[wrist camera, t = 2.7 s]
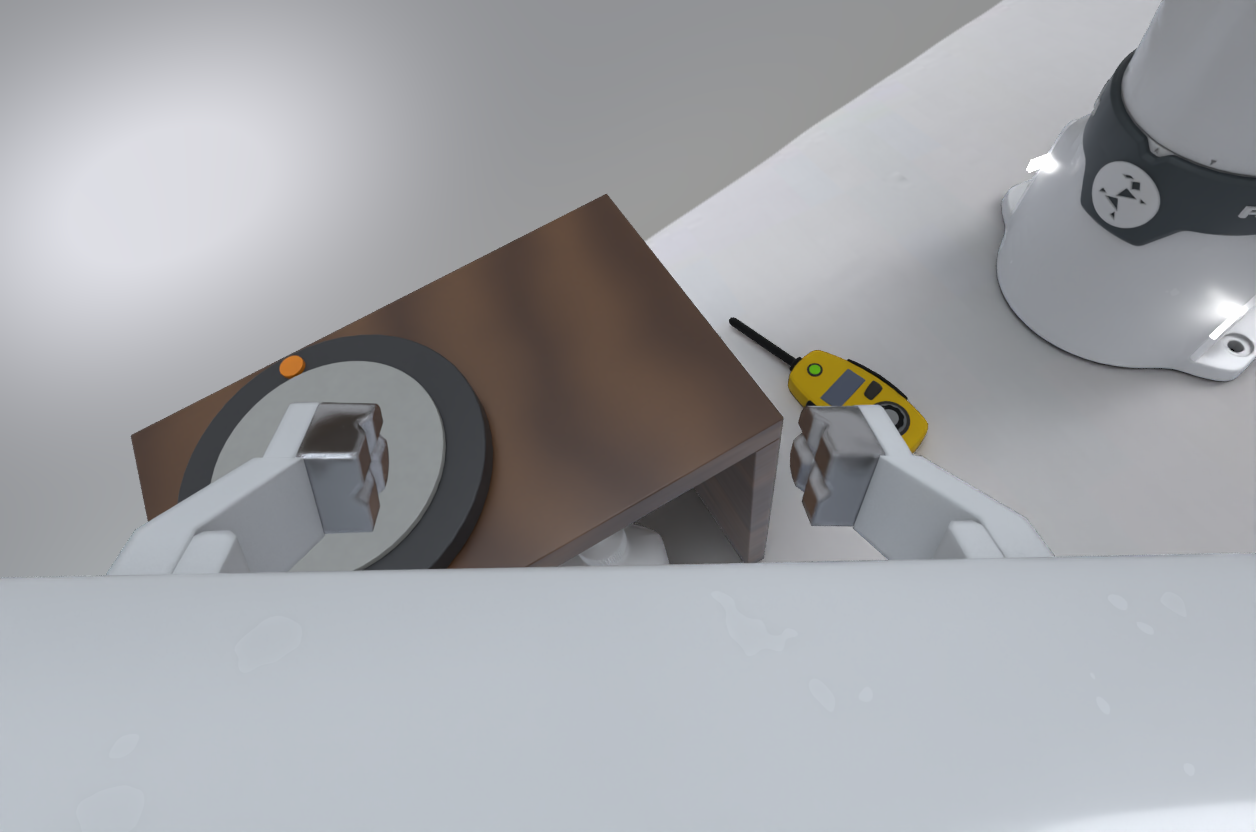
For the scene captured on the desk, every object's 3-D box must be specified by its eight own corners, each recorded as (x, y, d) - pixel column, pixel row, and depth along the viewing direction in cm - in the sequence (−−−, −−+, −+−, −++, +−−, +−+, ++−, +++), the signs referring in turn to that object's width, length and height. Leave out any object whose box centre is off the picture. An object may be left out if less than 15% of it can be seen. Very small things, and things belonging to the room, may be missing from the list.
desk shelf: (647, 387, 48) (606, 192, 32) (764, 558, 42) (784, 417, 26) (340, 558, 45) (129, 435, 29) (413, 770, 39) (193, 758, 23)
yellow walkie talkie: (897, 467, 41) (705, 331, 47) (890, 479, 43) (706, 347, 49) (944, 412, 42) (752, 287, 48) (936, 426, 44) (751, 304, 50)
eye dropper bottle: (601, 541, 43) (560, 462, 33) (685, 576, 42) (669, 505, 31) (569, 606, 42) (515, 545, 31) (655, 646, 40) (628, 595, 29)
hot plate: (428, 302, 31) (416, 283, 29) (545, 525, 25) (536, 512, 24) (167, 435, 29) (144, 421, 28) (230, 705, 23) (205, 700, 22)
